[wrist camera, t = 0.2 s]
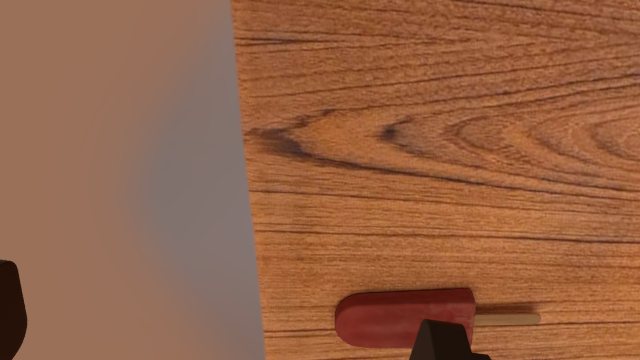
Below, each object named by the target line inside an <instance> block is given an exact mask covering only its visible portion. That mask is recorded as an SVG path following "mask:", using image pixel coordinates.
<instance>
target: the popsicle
mask: <svg viewBox="0 0 640 360" xmlns="http://www.w3.org/2000/svg"><path fill="white" fill-rule="evenodd" d="M475 308H476V303H475V299H474V296H473V293H472V291H471V290H470V289H447V290H427V291H405V292H384V293H364V294H357V295H353V296H350V297H348V298H346V299H345V300H343V301H342V302H341V303H340V304H339V305H338V307H337V309H336V311H335V330H336V332H337V334H338V336H339V337H340V338H341V339H342V340H343V341H345V342H346V343H348V344H350V345H353V346H357V347H365V348H413V346H414V343H415V340H416V337H417V334H418V331H419V328H420V325H421V322H422V321H423V319H431V320H439V321H446V322H453V323H461V324H463V326H464V327H465V330H466V333H467V337H468V341H469V344H470V347H471V344H472V335H473V326H474V325H514V324H536V323H539V322H540V321H541V316H540V315H539V314H537V313H502V314H475Z"/></svg>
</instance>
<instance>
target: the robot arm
mask: <svg viewBox="0 0 640 360" xmlns="http://www.w3.org/2000/svg"><path fill="white" fill-rule="evenodd" d="M26 329H27V315H26V310H25V304H24V299H23V294H22V289H21V284H20V279H19V273H18V269H17V266H16V264H15V263H13V262H12V261H7V260H0V360H12V359H13V357H14V356H15V355H16V353H17V352H18V350H19V348H20V346H21V344H22V342H23V340H24V337H25V334H26ZM409 360H491V358H490V357H489V356H488V355H486V354H478V353H472V352H471V348H470V344H469V341H468V337H467V333H466V330H465V327H464V326H463V324H461V323H453V322H446V321H439V320H431V319H423V321H422V322H421V325H420V328H419V331H418V334H417V337H416V340H415V343H414V346H413V349H412V353H411V356H410V359H409Z"/></svg>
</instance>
